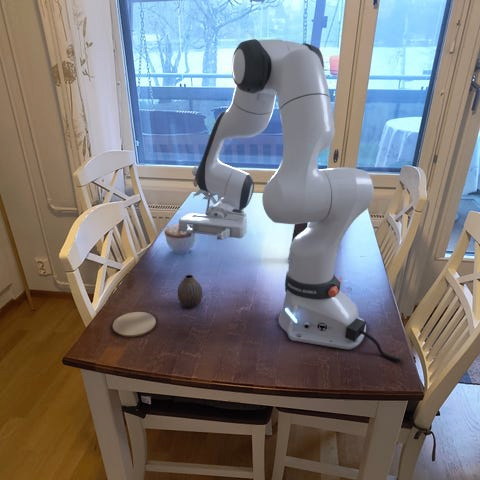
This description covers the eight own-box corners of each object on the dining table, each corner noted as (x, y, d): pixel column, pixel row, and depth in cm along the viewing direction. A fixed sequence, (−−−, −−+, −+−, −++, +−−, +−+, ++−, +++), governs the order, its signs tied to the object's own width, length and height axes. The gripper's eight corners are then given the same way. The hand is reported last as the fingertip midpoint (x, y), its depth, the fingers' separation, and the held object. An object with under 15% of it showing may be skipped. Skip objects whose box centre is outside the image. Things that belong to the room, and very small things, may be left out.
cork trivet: (164, 319, 113) (164, 318, 112) (138, 341, 104) (137, 339, 104) (131, 309, 117) (131, 308, 117) (103, 329, 109) (103, 328, 108)
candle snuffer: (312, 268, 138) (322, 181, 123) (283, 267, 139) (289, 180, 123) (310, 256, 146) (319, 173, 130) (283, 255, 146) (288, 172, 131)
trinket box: (163, 246, 153) (161, 221, 148) (192, 242, 156) (190, 217, 151) (170, 258, 145) (167, 232, 140) (200, 253, 148) (199, 228, 143)
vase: (199, 311, 116) (197, 283, 111) (175, 309, 117) (172, 281, 112) (205, 299, 122) (204, 271, 117) (182, 296, 123) (180, 269, 118)
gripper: (188, 205, 132) (169, 220, 121) (250, 212, 127) (237, 228, 116) (189, 225, 136) (171, 241, 125) (250, 232, 131) (237, 249, 120)
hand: (203, 235), depth 120 cm, fingers open, 8 cm apart
